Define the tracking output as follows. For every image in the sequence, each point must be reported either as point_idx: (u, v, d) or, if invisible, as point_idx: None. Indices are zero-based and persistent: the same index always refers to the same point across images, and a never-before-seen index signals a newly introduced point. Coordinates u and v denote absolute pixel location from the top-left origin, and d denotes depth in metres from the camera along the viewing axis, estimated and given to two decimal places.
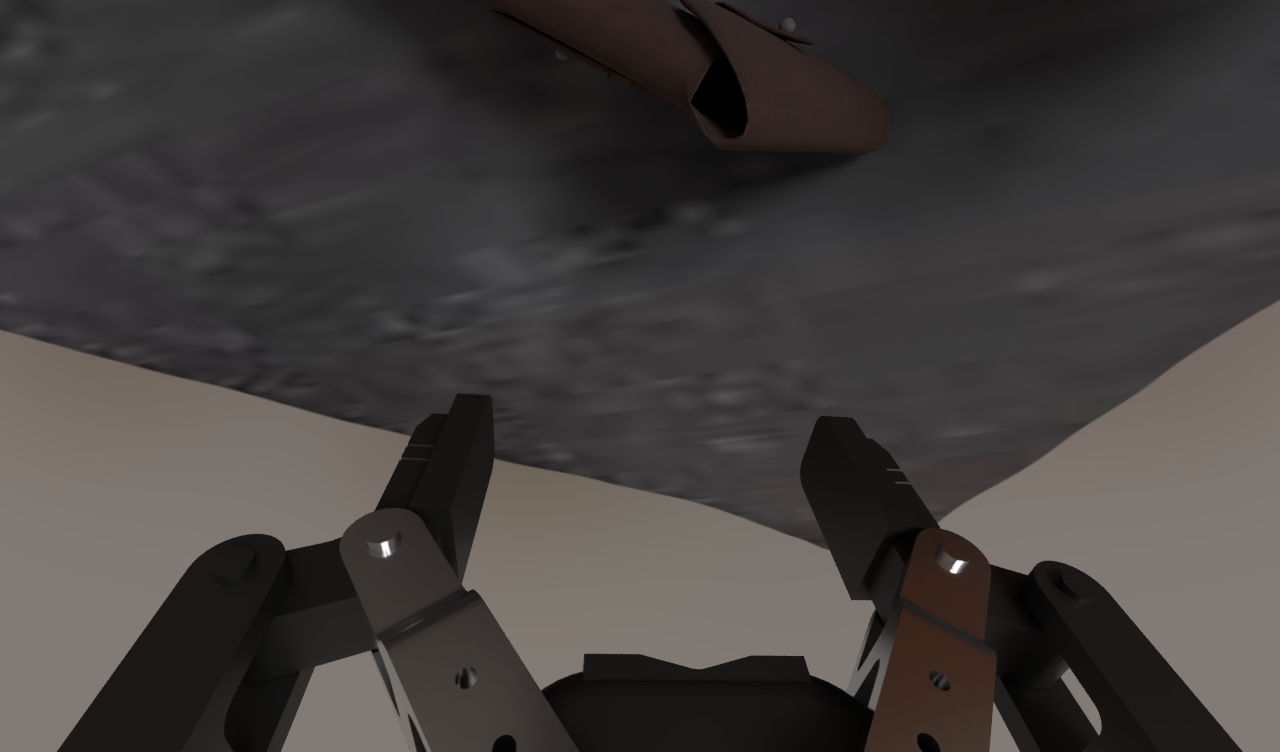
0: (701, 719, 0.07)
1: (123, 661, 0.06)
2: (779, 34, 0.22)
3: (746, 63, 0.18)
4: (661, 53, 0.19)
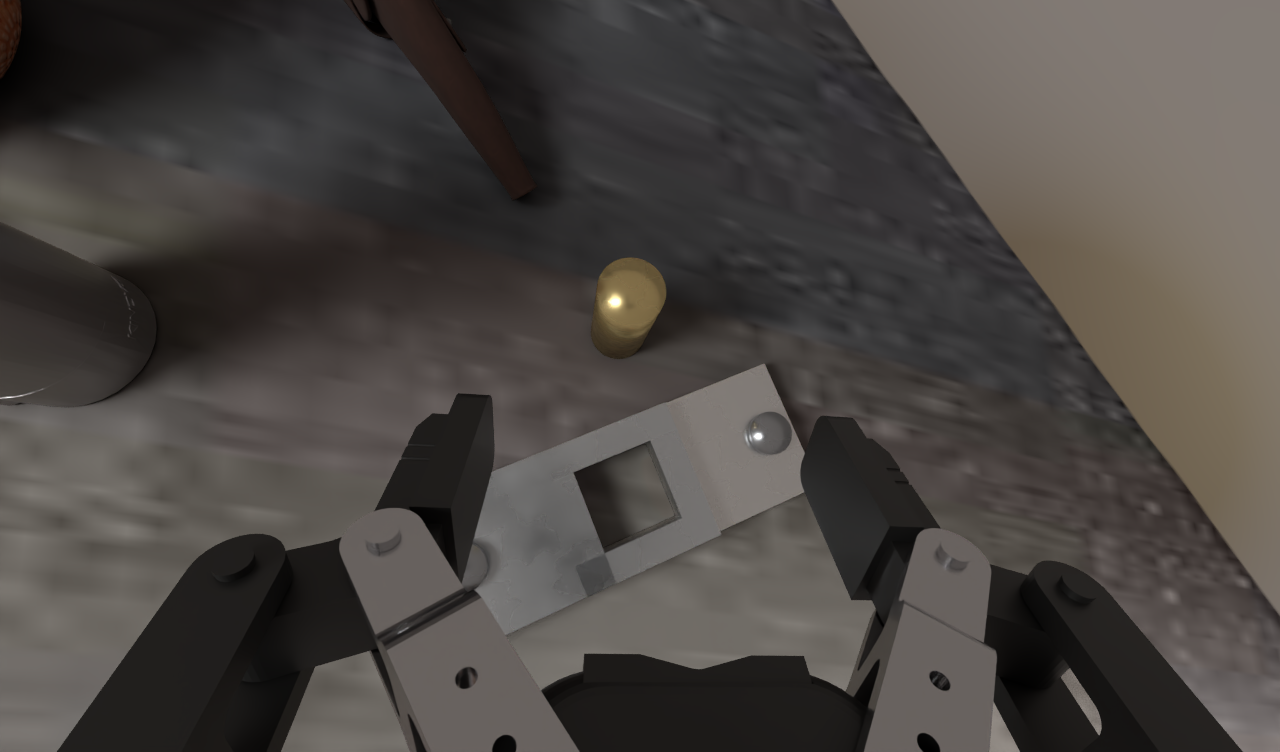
0: (701, 719, 0.07)
1: (123, 661, 0.06)
2: None
3: None
4: None
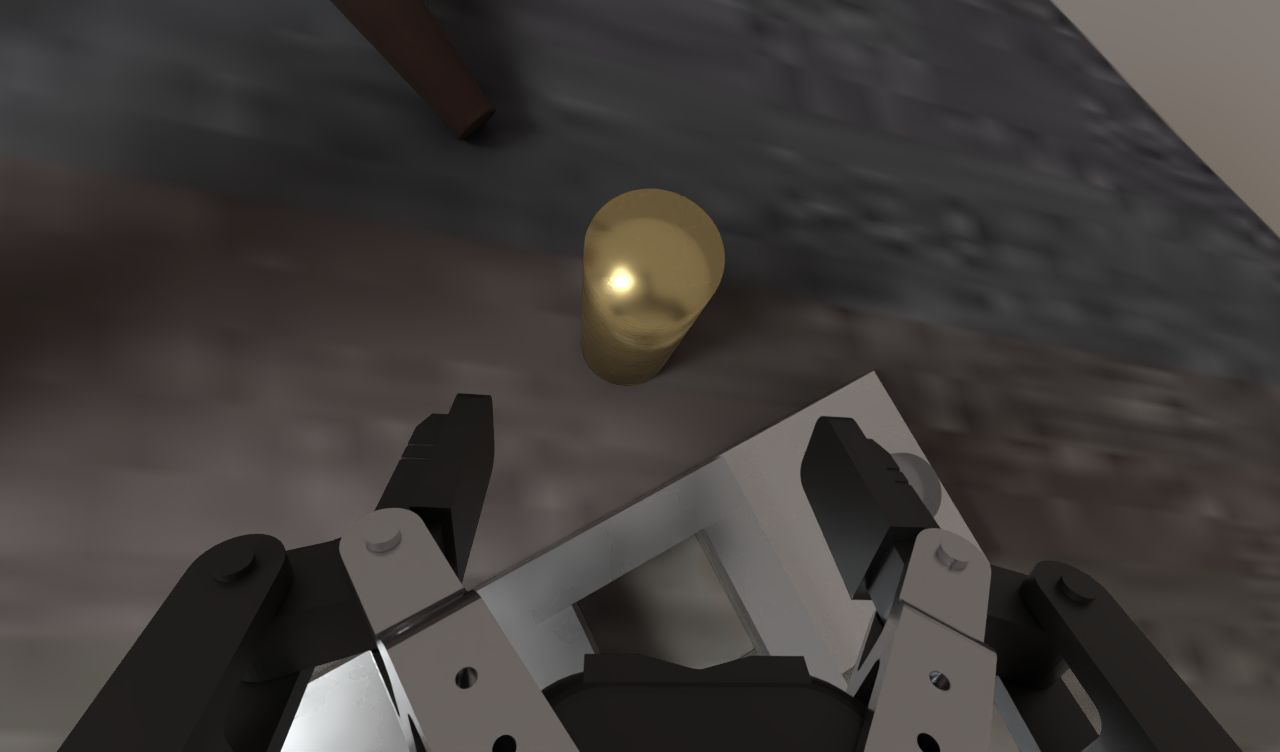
0: (701, 719, 0.07)
1: (123, 661, 0.06)
2: None
3: None
4: None
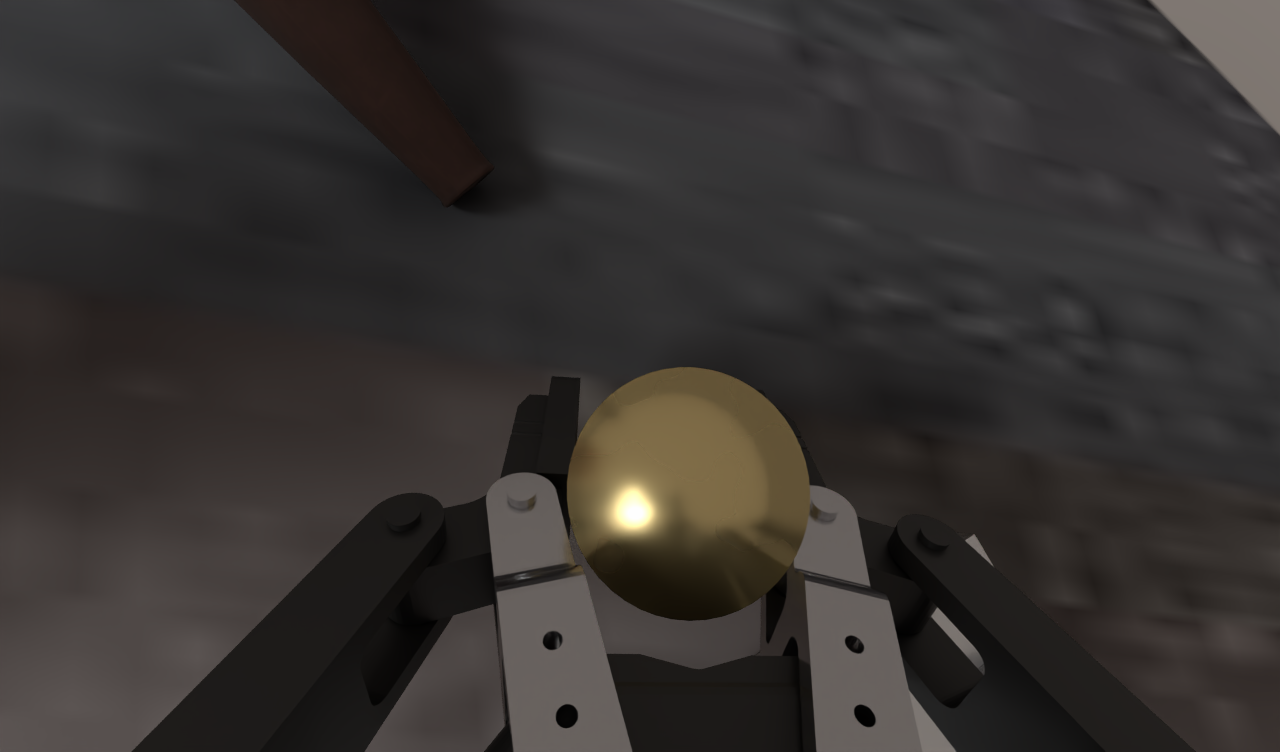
0: (701, 719, 0.07)
1: (309, 574, 0.08)
2: None
3: None
4: None
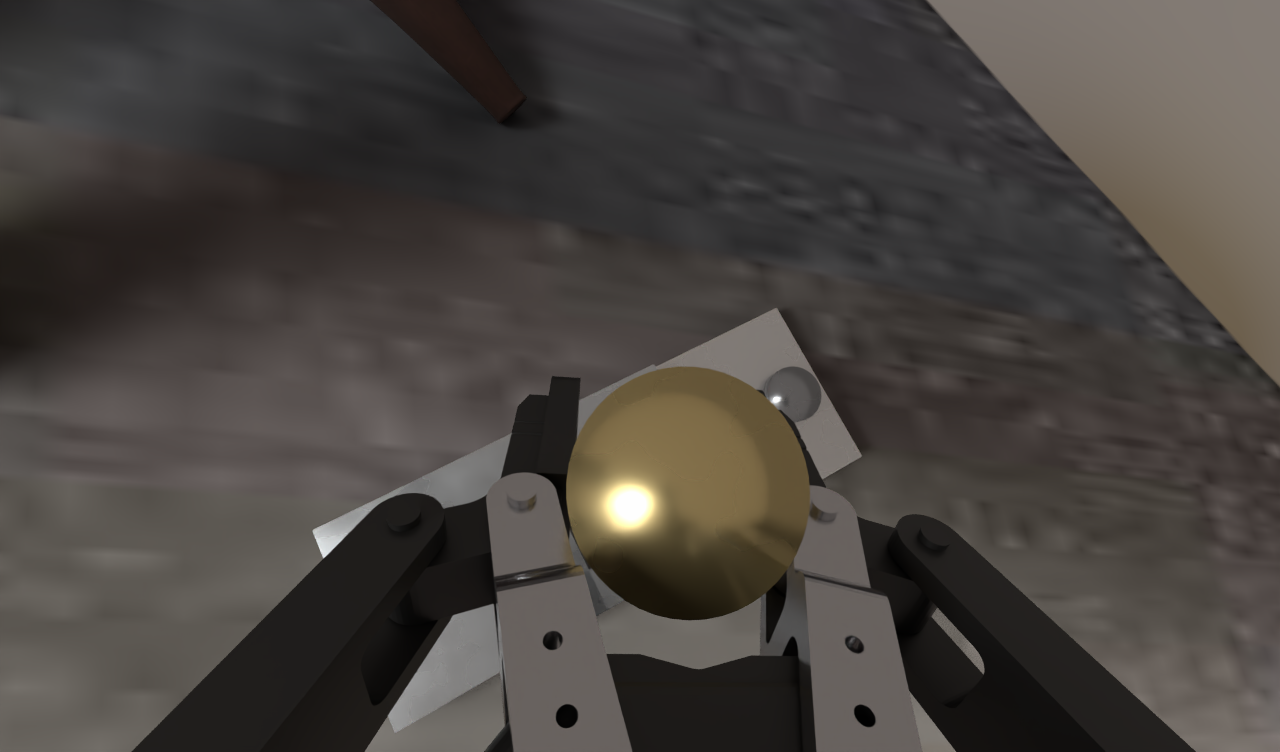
0: (701, 719, 0.07)
1: (309, 573, 0.08)
2: None
3: None
4: None
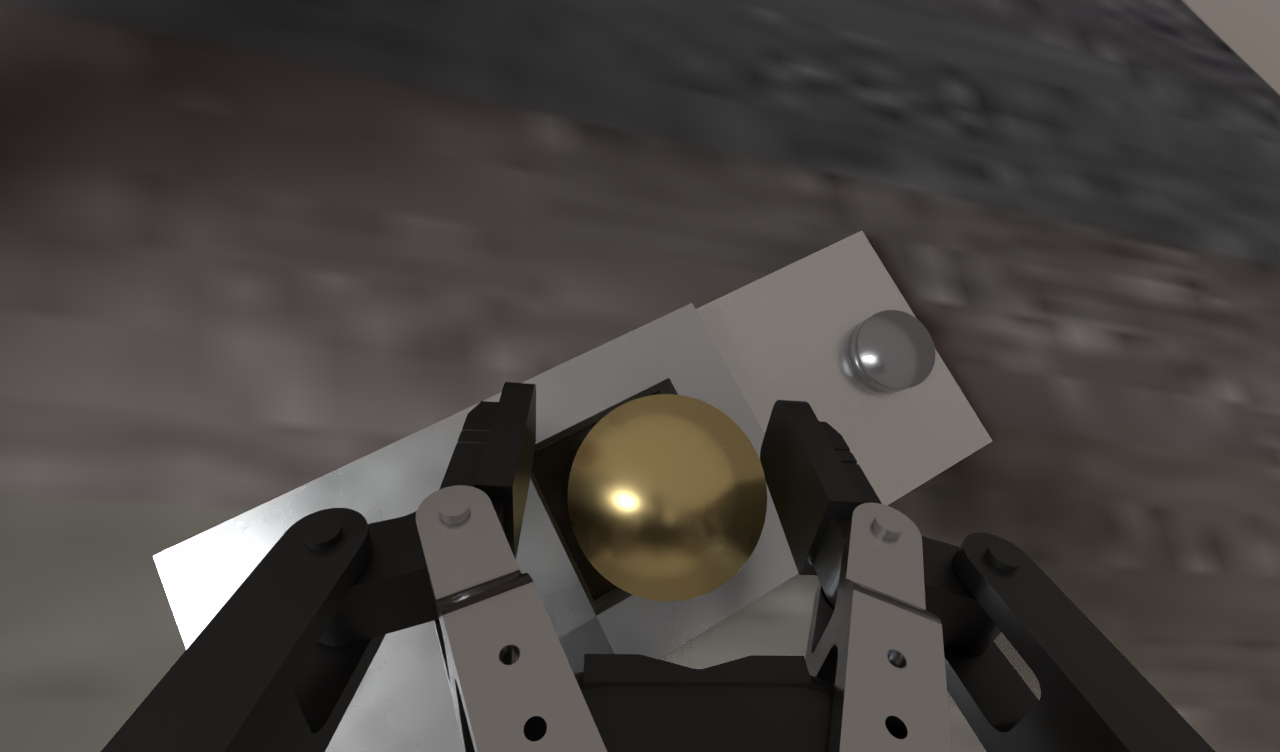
0: (701, 719, 0.07)
1: (222, 608, 0.07)
2: None
3: None
4: None
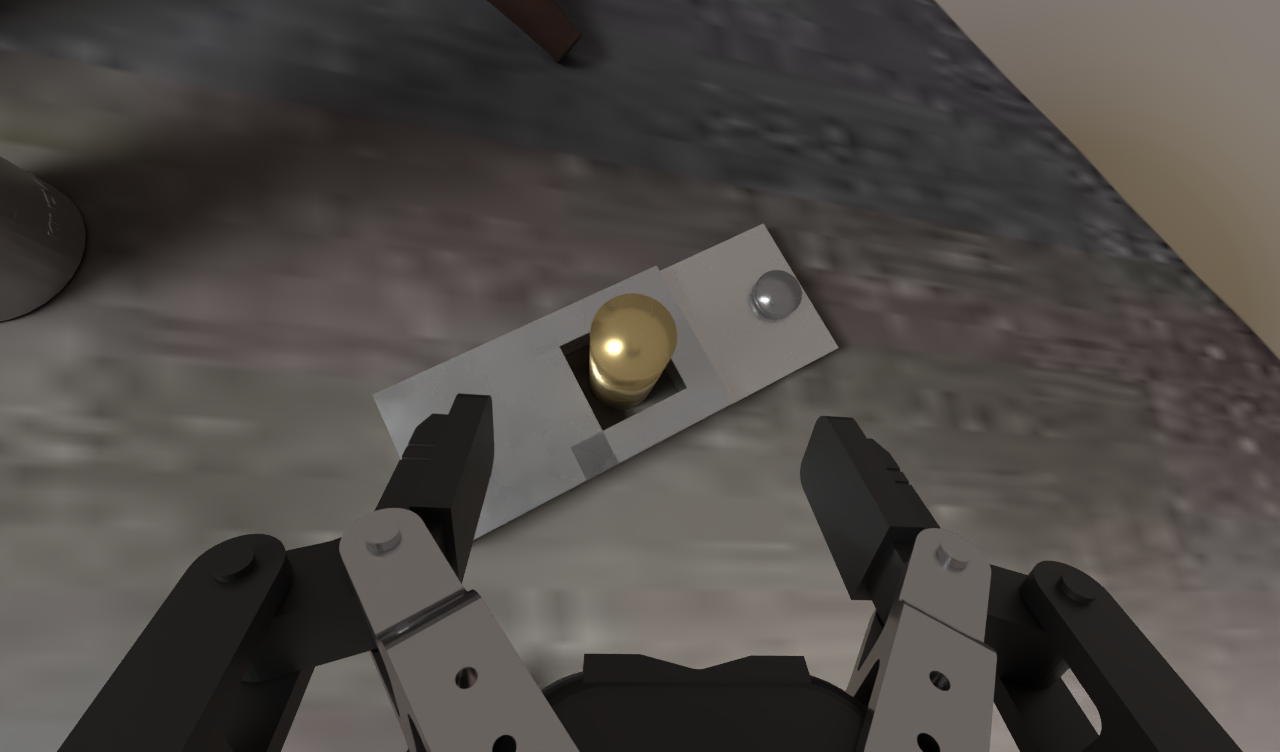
0: (701, 719, 0.07)
1: (123, 661, 0.06)
2: None
3: None
4: None
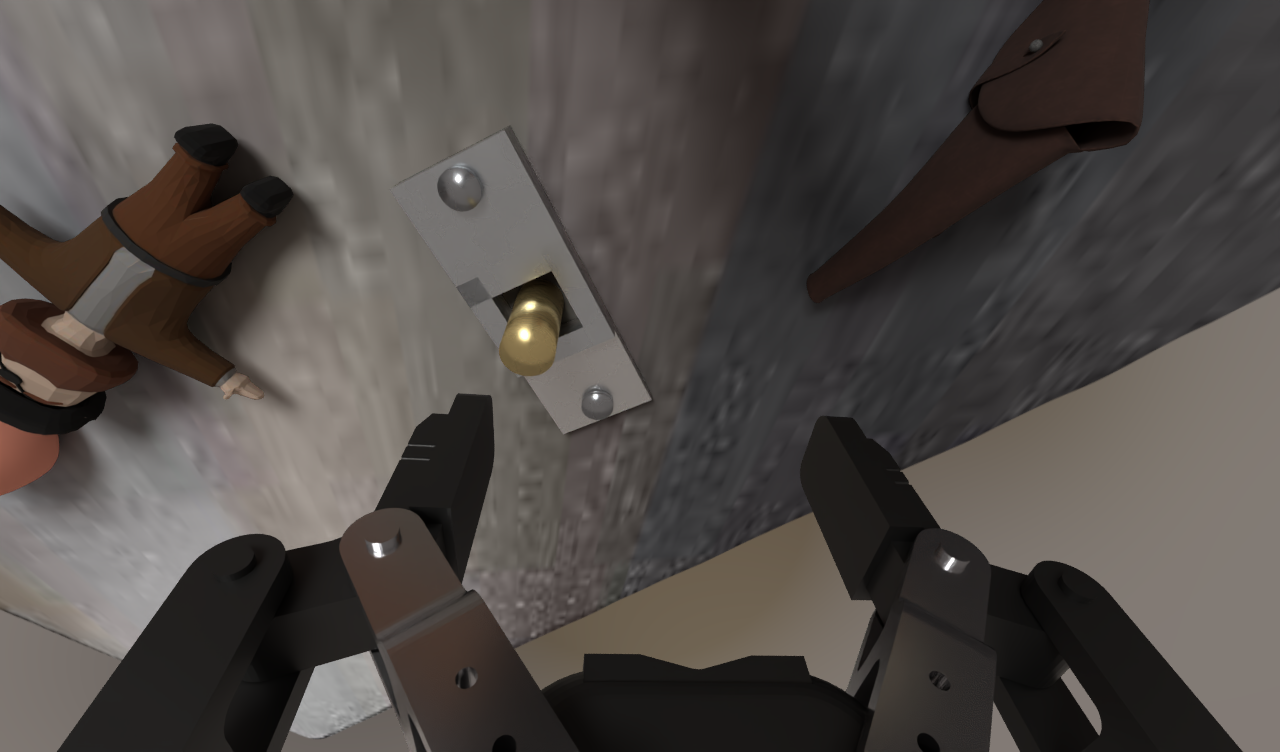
0: (701, 719, 0.07)
1: (123, 661, 0.06)
2: (1040, 55, 0.33)
3: (1086, 110, 0.29)
4: (1038, 157, 0.32)
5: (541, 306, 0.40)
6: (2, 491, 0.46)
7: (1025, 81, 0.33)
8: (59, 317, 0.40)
